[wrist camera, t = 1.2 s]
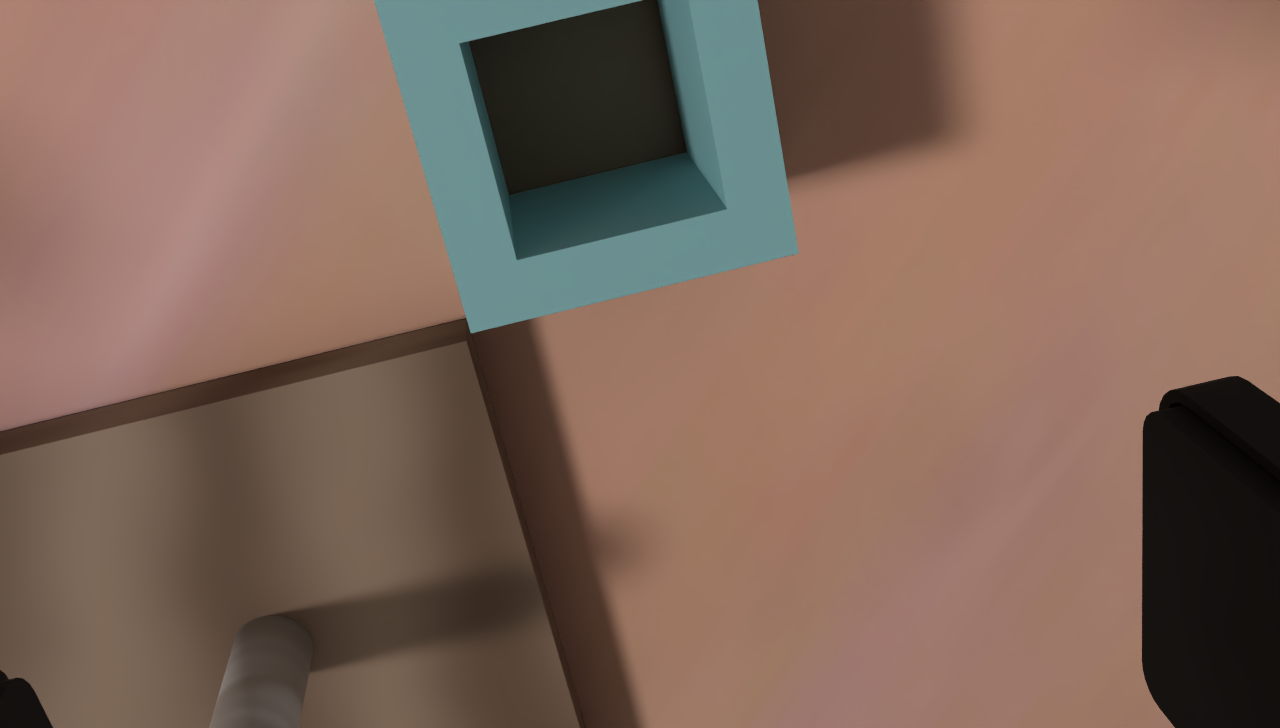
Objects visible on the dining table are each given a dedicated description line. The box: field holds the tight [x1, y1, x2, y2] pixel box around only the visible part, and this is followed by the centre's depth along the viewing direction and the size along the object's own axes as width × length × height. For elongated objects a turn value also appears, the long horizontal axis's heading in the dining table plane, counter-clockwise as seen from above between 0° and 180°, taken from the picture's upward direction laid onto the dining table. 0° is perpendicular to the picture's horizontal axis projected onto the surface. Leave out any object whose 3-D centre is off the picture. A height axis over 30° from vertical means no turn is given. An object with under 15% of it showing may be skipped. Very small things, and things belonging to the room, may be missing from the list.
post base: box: [0, 319, 585, 728], centre depth 29 cm, size 14×14×8 cm
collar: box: [374, 0, 799, 333], centre depth 26 cm, size 7×7×5 cm
